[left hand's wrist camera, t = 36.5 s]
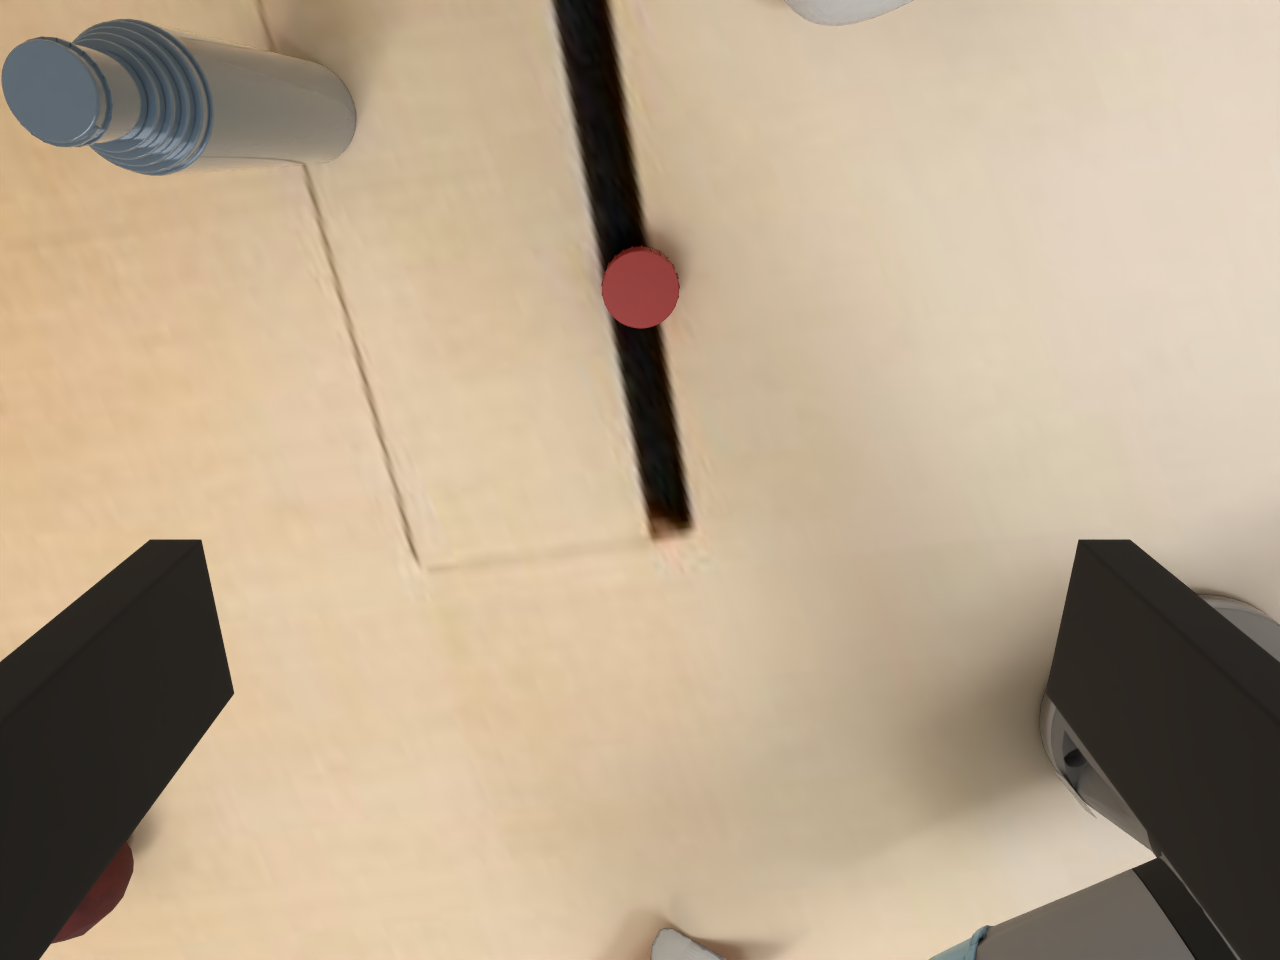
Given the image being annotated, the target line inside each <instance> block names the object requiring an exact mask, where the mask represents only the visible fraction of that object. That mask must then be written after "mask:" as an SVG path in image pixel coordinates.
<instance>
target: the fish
mask: <svg viewBox="0 0 1280 960" xmlns="http://www.w3.org/2000/svg"><path fill="white" fill-rule="evenodd" d="M651 960H726V959H725V958H723V957H721V956H720V955H718V954H716V953H715V952H713V951H711V950H709V949H707V948H706V947H704V946H702V945H700V944H698V943H696V942H695V941H693V940H691V939H690V938H688V937H687V936H685V935H684V934H682V933H680V932H678V931H676V930H674V929H670V928H664V929H661V930H659V932H658V934H657V936H656V938H655V940H654V942H653V945H652V952H651Z"/></svg>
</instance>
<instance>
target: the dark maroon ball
mask: <svg viewBox="0 0 1280 960" xmlns="http://www.w3.org/2000/svg"><path fill="white" fill-rule="evenodd" d="M133 864H134V861H133V856H132V851H131V848H130V847H129V845H128V844H127V843H126V842H125V843H124V844H123V846H122V847H121V849H120V850H119V851H118V853H117V854H116V855H115V857H114V858H113V859H112V861H111V862H110V864H109V865H108V866H107V868H106V869H105V870H104V872H103V873H102V874H101V876H100V877H99V879H98V880H97V881H96V883H95V884H94V885H93V887H92V888H91V890H90V891H89V892H88V894H87V895H86V896H85V898H84V899H83V900H82V902H81V903H80V905H79V906H78V907H77V909H76V910H75V911H74V913H73V914H72V915H71V917H70V918H69V920H68V921H67V922H66V924H65V925H64V926H63V928H62V929H61V930H60V932H59V933H58V935H57V936H56V937H55V939H54V940H53V941H52V943H57V942H61V941H65V940H69V939H72V938H75V937H78V936H81V935H84V934H85V933H86V932H87V931H88V930H90V929H91V928H92V927H93V926H94V925H96V924H97V923H98V922H99V921H100V920H101V919H103V918H104V917H105V916H106V915H107V914H109V913H110V912H111V911H112V910H113V909H114V908H115V906H116V905H117V904H118V903H119V901H120V900H121V899H122V898H123V896H124V893H125V891H126V888H127V886H128V883H129V881H130V878H131V875H132V873H133ZM52 943H51V944H52Z"/></svg>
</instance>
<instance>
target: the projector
mask: <svg viewBox="0 0 1280 960" xmlns="http://www.w3.org/2000/svg"><path fill="white" fill-rule="evenodd" d="M785 1H786V3H787V4H788V5H789V6H790V7H791V8H792V9H793V10H794V11H795V12H796V13H798V14H799V15H800V16H801V17H803V18H804V19H806V20H808V21H810V22H813V23H816V24H820V25H830V26H839V25H847V24H853V23H857V22H861V21H864V20H868V19H871V18H874V17H877V16H879V15H882V14H884V13H887V12H889V11H892V10H894V9H897V8H899V7H901V6H903V5H905V4H907V3H909V2H911V1H913V0H785Z"/></svg>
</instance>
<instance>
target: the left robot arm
mask: <svg viewBox="0 0 1280 960" xmlns="http://www.w3.org/2000/svg"><path fill="white" fill-rule="evenodd" d="M233 694H234V690H233V685H232V681H231V676H230V671H229V667H228V662H227V657H226V653H225V648H224V643H223V639H222V634H221V629H220V625H219V620H218V615H217V611H216V606H215V601H214V597H213V592H212V587H211V583H210V578H209V573H208V569H207V564H206V559H205V555H204V550H203V545H202V541H201V540H149V541H148V542H147V543H145V544H144V545H143V546H142V547H140V548H139V549H138V550H137V551H136V552H134V553H133V554H132V555H131V556H129V557H128V558H127V559H126V560H125V561H123V562H122V563H121V564H120V565H118V566H117V567H116V568H115V569H114V570H112V571H111V572H110V573H109V574H107V575H106V576H105V577H104V578H103V579H101V580H100V581H99V582H98V583H96V584H95V585H94V586H93V587H92V588H90V589H89V590H88V591H87V592H85V593H84V594H83V595H82V596H81V597H79V598H78V599H77V600H76V601H74V602H73V603H72V604H71V605H69V606H68V607H67V608H66V609H65V610H63V611H62V612H61V613H60V614H58V615H57V616H56V617H55V618H54V619H52V620H51V621H50V622H49V623H47V624H46V625H45V626H44V627H43V628H41V629H40V630H39V631H38V632H36V633H35V634H34V635H33V636H32V637H30V638H29V639H28V640H27V641H25V642H24V643H23V644H22V645H21V646H19V647H18V648H17V649H16V650H14V651H13V652H12V653H11V654H10V655H8V656H7V657H6V658H5V659H3V660H2V661H1V662H0V960H39V959H40V958H41V956H42V955H43V954H44V952H45V951H46V950H47V948H48V947H49V945H50V944H51V943H52V941H53V940H54V939H55V937H56V936H57V935H58V933H59V932H60V930H61V929H62V928H63V926H64V925H65V924H66V922H67V921H68V920H69V918H70V917H71V915H72V914H73V913H74V911H75V910H76V909H77V907H78V906H79V905H80V903H81V902H82V900H83V899H84V898H85V896H86V895H87V894H88V892H89V891H90V890H91V888H92V887H93V885H94V884H95V883H96V881H97V880H98V879H99V877H100V876H101V874H102V873H103V872H104V870H105V869H106V868H107V866H108V865H109V864H110V862H111V861H112V859H113V858H114V857H115V855H116V854H117V853H118V851H119V850H120V849H121V847H122V846H123V844H124V843H125V842H126V840H127V839H128V838H129V836H130V835H131V834H132V832H133V831H134V829H135V828H136V827H137V825H138V824H139V823H140V821H141V820H142V819H143V817H144V816H145V814H146V813H147V812H148V810H149V809H150V808H151V806H152V805H153V804H154V802H155V801H156V799H157V798H158V797H159V795H160V794H161V793H162V791H163V790H164V789H165V787H166V786H167V784H168V783H169V782H170V780H171V779H172V778H173V776H174V775H175V773H176V772H177V771H178V769H179V768H180V767H181V765H182V764H183V763H184V761H185V760H186V758H187V757H188V756H189V754H190V753H191V752H192V750H193V749H194V748H195V746H196V745H197V743H198V742H199V741H200V739H201V738H202V737H203V735H204V734H205V733H206V731H207V730H208V728H209V727H210V726H211V724H212V723H213V722H214V720H215V719H216V718H217V716H218V715H219V713H220V712H221V711H222V709H223V708H224V707H225V705H226V704H227V703H228V701H229V700H230V698H231V697H232V696H233ZM1040 732H1041V738H1042V742H1043V745H1044V748H1045V751H1046V753H1047V755H1048V757H1049V759H1050V760H1051V762H1052V764H1053V765H1054V767H1055V768H1056V770H1057V771H1058V773H1059V774H1060V775H1059V774H1058V773H1056V772H1055V771H1054V770H1053V771H1054V772H1055V773H1056V774H1057V776H1058V777H1059V778H1060V779H1061V781H1062V782H1063V783H1064V784H1065V786H1066V787H1067V788H1068V789H1069V790H1070V792H1071V793H1072V794H1073V795H1074V797H1075V798H1076V799H1077V800H1078V802H1079V803H1080V804H1081V805H1082V807H1083V808H1084V809H1085V810H1086V811H1087V812H1089V813H1090V814H1091V815H1093V816H1094V817H1095V815H1094V814H1093V813H1092V812H1091V810H1090V809H1089V808H1088V807H1087V805H1086V804H1088V805H1089V806H1090V807H1092V808H1093V809H1095V810H1096V811H1097V812H1099V813H1100V814H1101V815H1103V816H1104V817H1106V818H1107V819H1108V820H1110V821H1111V822H1112V823H1114V824H1115V825H1117V826H1118V827H1119V828H1121V829H1122V830H1123V831H1125V832H1126V833H1128V834H1129V835H1130V836H1132V837H1133V838H1134V839H1136V840H1137V841H1139V842H1140V843H1141V844H1143V845H1144V846H1145V847H1147V848H1148V849H1150V850H1151V851H1152V852H1153V853H1154V854H1155V856H1156V857H1157V858H1156V859H1154V860H1151V861H1149V862H1147V863H1144V864H1142V865H1140V866H1137V867H1135V868H1132V869H1130V870H1127V871H1125V872H1123V873H1120V874H1118V875H1116V876H1113V877H1111V878H1109V879H1106V880H1104V881H1102V882H1099V883H1097V884H1095V885H1092V886H1090V887H1088V888H1085V889H1083V890H1080V891H1078V892H1076V893H1073V894H1071V895H1068V896H1066V897H1063V898H1061V899H1059V900H1056V901H1054V902H1051V903H1049V904H1046V905H1044V906H1042V907H1039V908H1037V909H1034V910H1032V911H1030V912H1027V913H1025V914H1022V915H1020V916H1017V917H1015V918H1013V919H1010V920H1008V921H1005V922H1003V923H1000V924H998V925H996V926H988V925H986V926H984V927H981V928H980V929H978V930H977V931H976V932H975V933H974V934H973V936H972V938H970V939H968V940H966V941H964V942H962V943H960V944H958V945H956V946H954V947H952V948H950V949H948V950H946V951H944V952H942V953H940V954H938V955H936V956H934V957H932V958H930V959H929V960H1280V625H1279V624H1278V623H1277V622H1275V621H1274V620H1273V619H1271V618H1270V617H1269V616H1267V615H1266V614H1265V613H1263V612H1262V611H1260V610H1258V609H1257V608H1255V607H1253V606H1251V605H1249V604H1246V603H1244V602H1241V601H1238V600H1235V599H1232V598H1227V597H1222V596H1216V595H1204V594H1196V593H1195V592H1193V591H1192V590H1191V589H1190V588H1188V587H1187V586H1186V585H1185V584H1184V583H1182V582H1181V581H1180V580H1179V579H1177V578H1176V577H1175V576H1174V575H1173V574H1171V573H1170V572H1169V571H1168V570H1166V569H1165V568H1164V567H1163V566H1162V565H1160V564H1159V563H1158V562H1157V561H1155V560H1154V559H1153V558H1152V557H1151V556H1149V555H1148V554H1147V553H1146V552H1144V551H1143V550H1142V549H1141V548H1140V547H1138V546H1137V545H1136V544H1135V543H1133V542H1132V541H1131V540H1079V541H1078V545H1077V550H1076V555H1075V559H1074V564H1073V569H1072V573H1071V578H1070V583H1069V587H1068V592H1067V597H1066V601H1065V606H1064V611H1063V615H1062V620H1061V625H1060V629H1059V634H1058V639H1057V643H1056V648H1055V653H1054V657H1053V662H1052V667H1051V671H1050V676H1049V681H1048V685H1047V689H1046V691H1045V694H1044V697H1043V701H1042V705H1041V712H1040ZM1082 800H1083V801H1084V802H1085V803H1086V804H1085V803H1084V802H1083V801H1082ZM1095 818H1096V817H1095Z"/></svg>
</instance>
